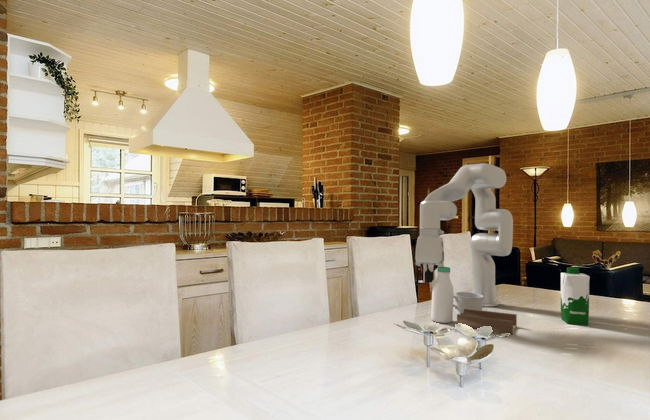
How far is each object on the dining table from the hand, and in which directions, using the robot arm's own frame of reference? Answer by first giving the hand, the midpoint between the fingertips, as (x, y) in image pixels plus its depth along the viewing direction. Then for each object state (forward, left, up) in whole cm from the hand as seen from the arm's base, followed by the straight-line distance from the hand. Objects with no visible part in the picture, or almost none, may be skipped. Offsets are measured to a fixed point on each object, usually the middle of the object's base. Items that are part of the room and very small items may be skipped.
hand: (429, 281), depth 161 cm
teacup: (-17, +10, -15) cm, 24 cm away
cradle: (0, +21, -14) cm, 25 cm away
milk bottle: (0, +5, -14) cm, 15 cm away
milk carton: (-25, +48, -15) cm, 56 cm away
